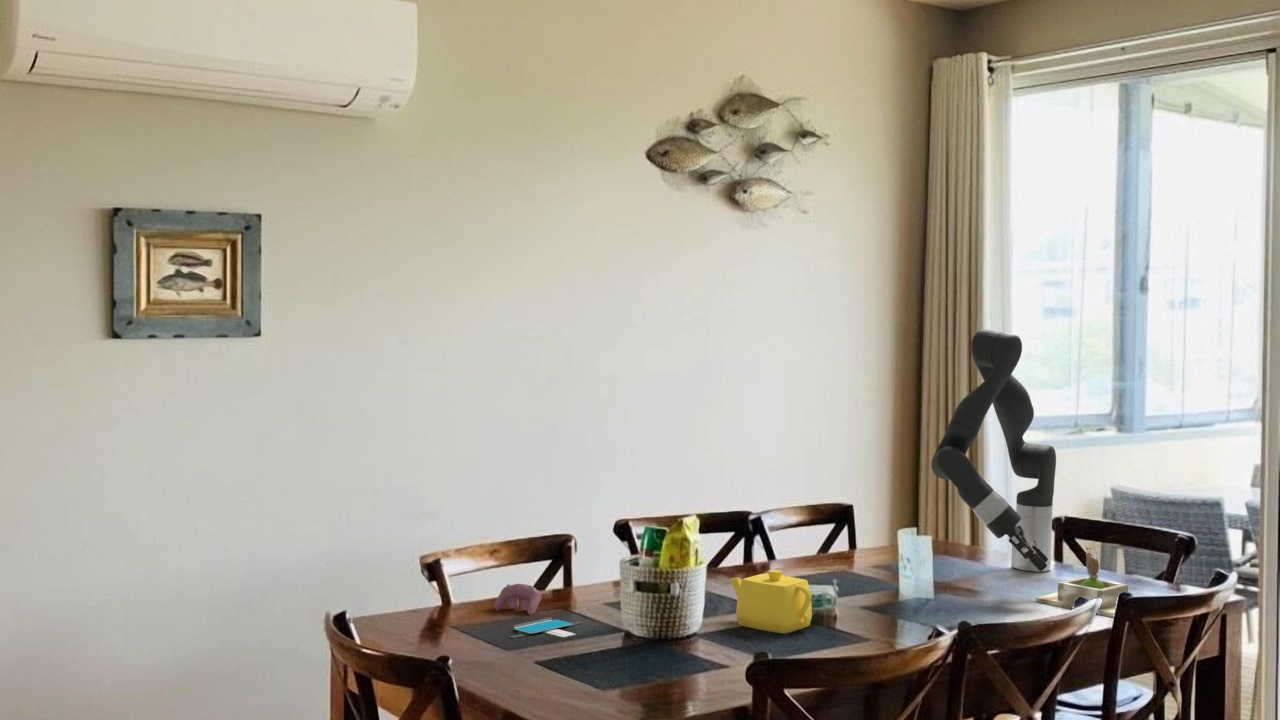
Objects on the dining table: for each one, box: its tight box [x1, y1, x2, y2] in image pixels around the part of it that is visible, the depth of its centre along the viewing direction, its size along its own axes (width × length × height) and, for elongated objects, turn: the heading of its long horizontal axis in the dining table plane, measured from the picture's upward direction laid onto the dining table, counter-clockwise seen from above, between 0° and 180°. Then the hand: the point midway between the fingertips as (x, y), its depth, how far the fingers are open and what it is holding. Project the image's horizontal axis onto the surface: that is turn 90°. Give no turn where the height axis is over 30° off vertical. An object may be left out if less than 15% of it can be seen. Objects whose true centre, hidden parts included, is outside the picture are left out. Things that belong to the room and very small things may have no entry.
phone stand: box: [509, 616, 584, 639], centre depth 282 cm, size 20×12×2 cm, turn 137°
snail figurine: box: [1081, 546, 1105, 589], centre depth 317 cm, size 5×6×12 cm
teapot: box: [730, 569, 813, 634], centre depth 292 cm, size 20×12×12 cm, turn 51°
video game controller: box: [493, 583, 543, 616], centre depth 300 cm, size 10×5×7 cm, turn 66°
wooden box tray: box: [1035, 576, 1129, 618], centre depth 317 cm, size 20×16×5 cm
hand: (1044, 565), depth 320 cm, fingers open, 8 cm apart
